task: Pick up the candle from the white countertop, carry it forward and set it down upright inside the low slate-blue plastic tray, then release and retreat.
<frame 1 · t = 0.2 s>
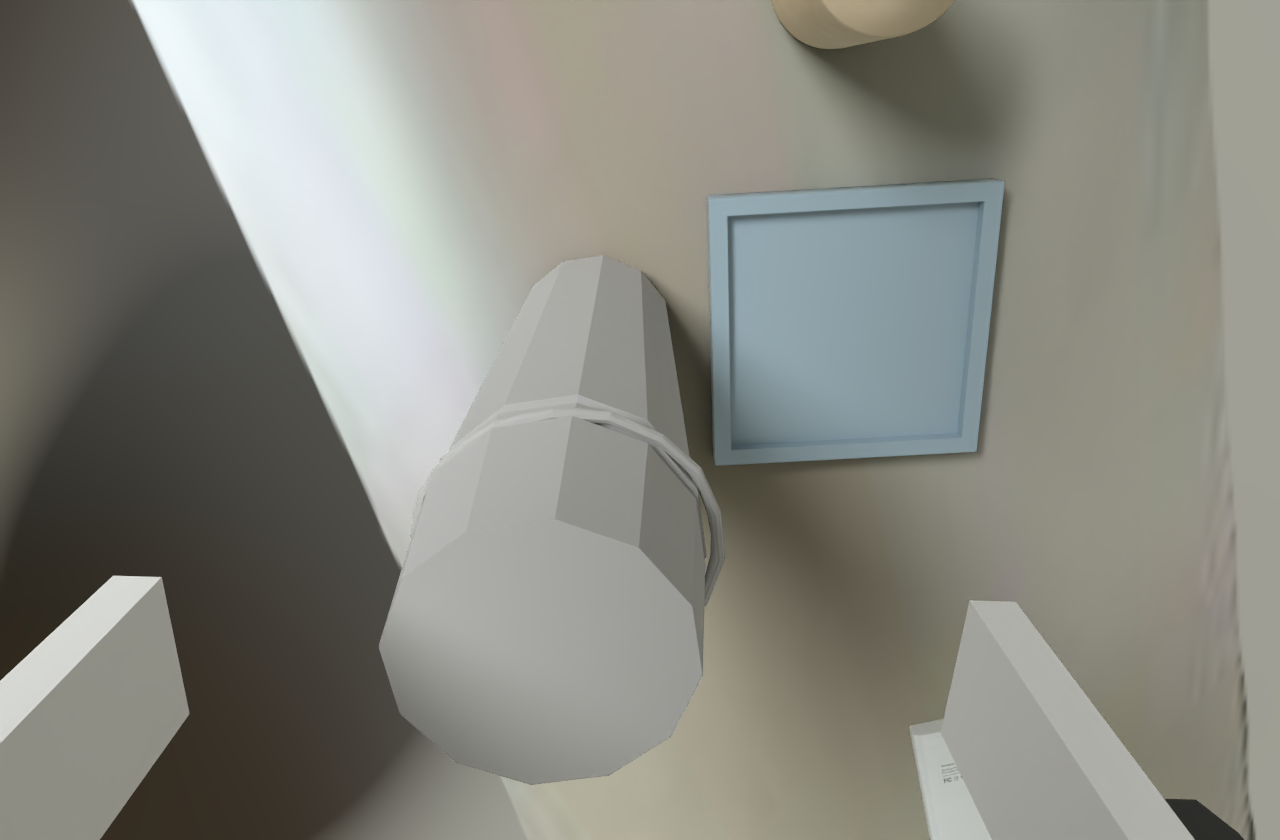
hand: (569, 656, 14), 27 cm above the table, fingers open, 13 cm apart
water bottle: (604, 342, 40), on the table
external hard drive: (984, 779, 52), on the table
tray: (844, 326, 40), on the table
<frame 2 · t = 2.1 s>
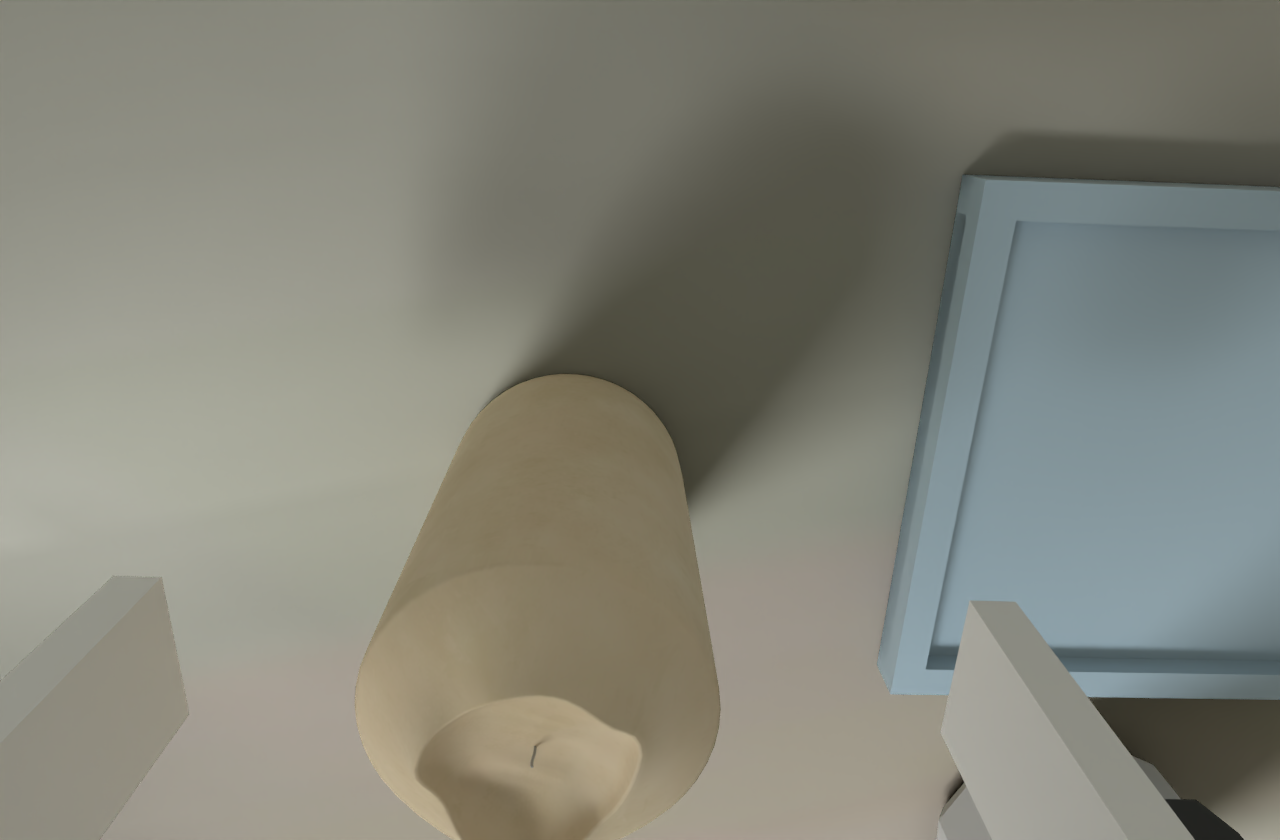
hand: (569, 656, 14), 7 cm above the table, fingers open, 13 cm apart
water bottle: (1068, 803, 25), on the table
tray: (1171, 454, 21), on the table
candle: (569, 472, 21), on the table
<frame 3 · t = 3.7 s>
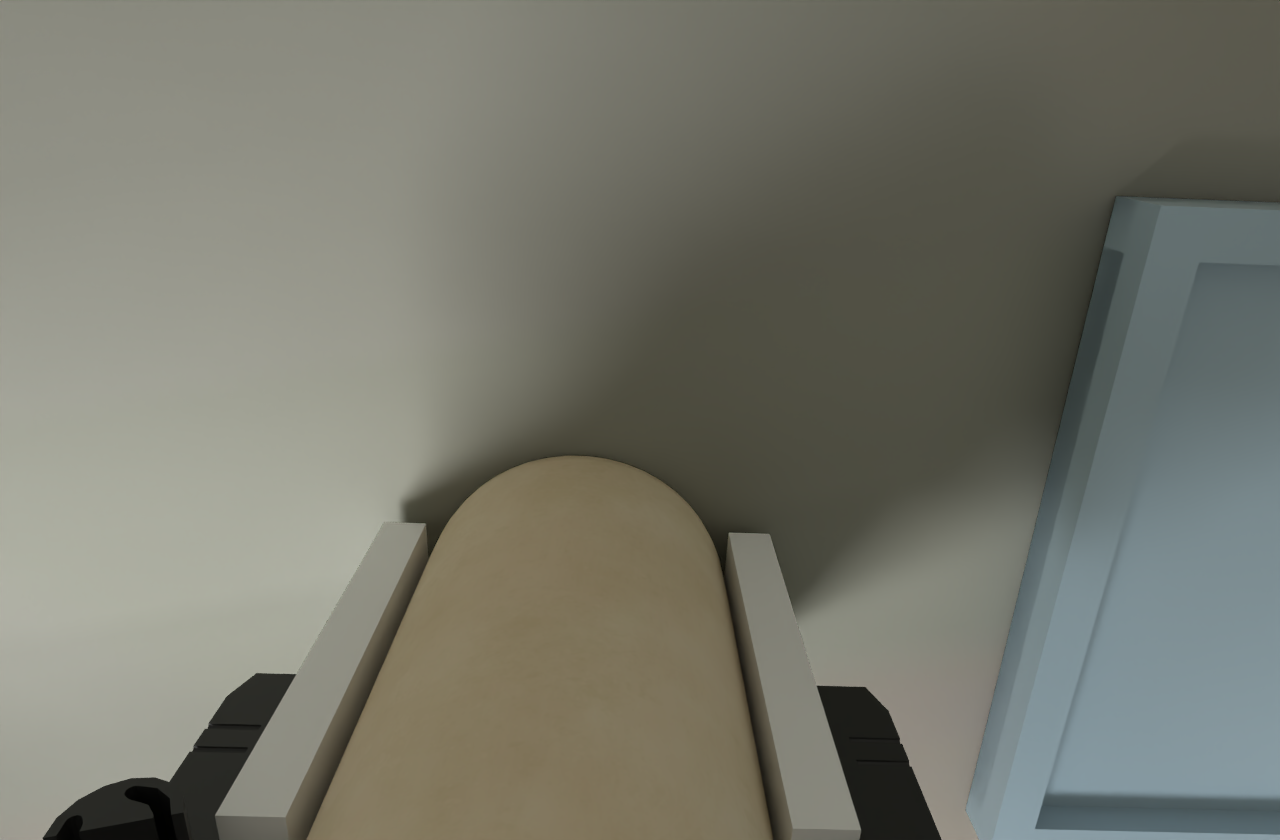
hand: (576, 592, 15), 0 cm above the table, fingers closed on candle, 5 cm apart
candle: (578, 576, 16), on the table, touching gripper
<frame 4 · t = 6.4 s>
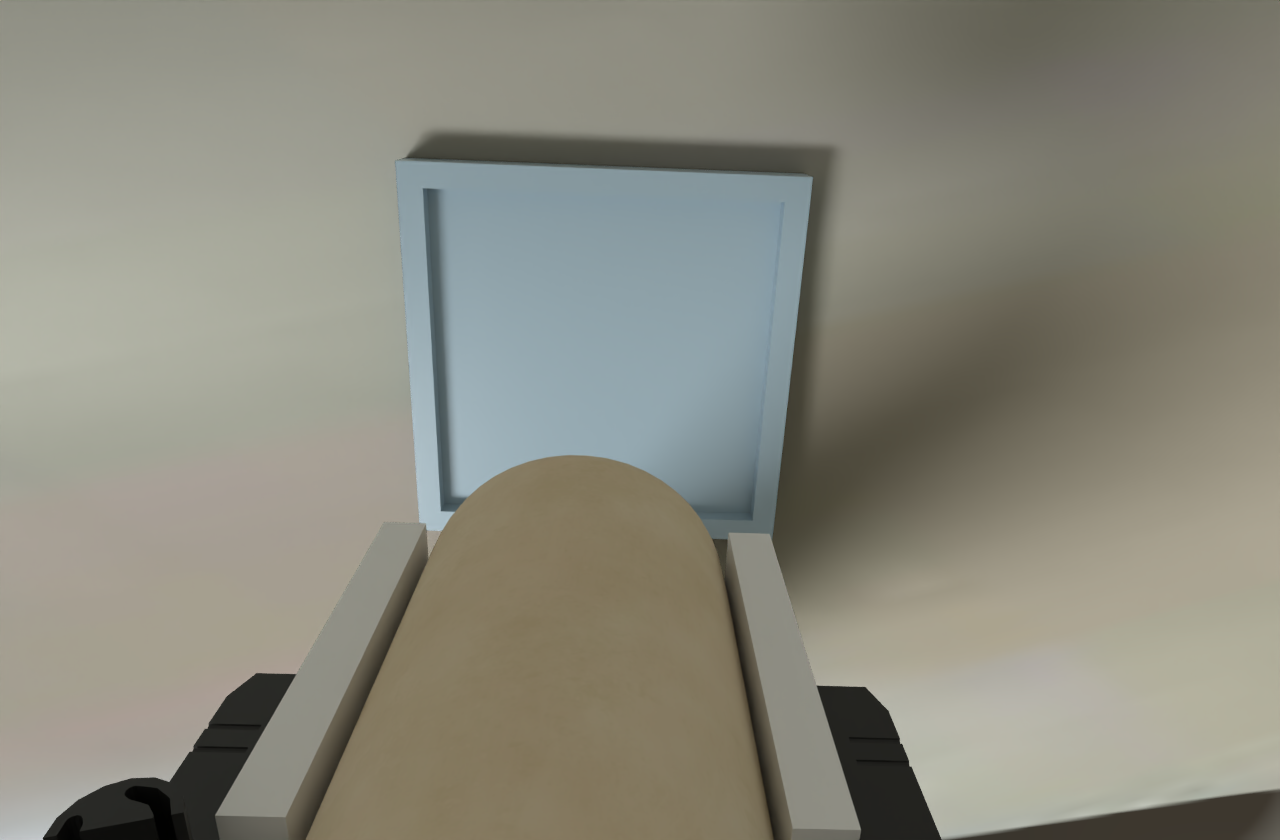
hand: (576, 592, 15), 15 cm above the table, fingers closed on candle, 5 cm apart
tray: (601, 357, 29), on the table
candle: (578, 576, 16), point 14 cm above the table, touching gripper
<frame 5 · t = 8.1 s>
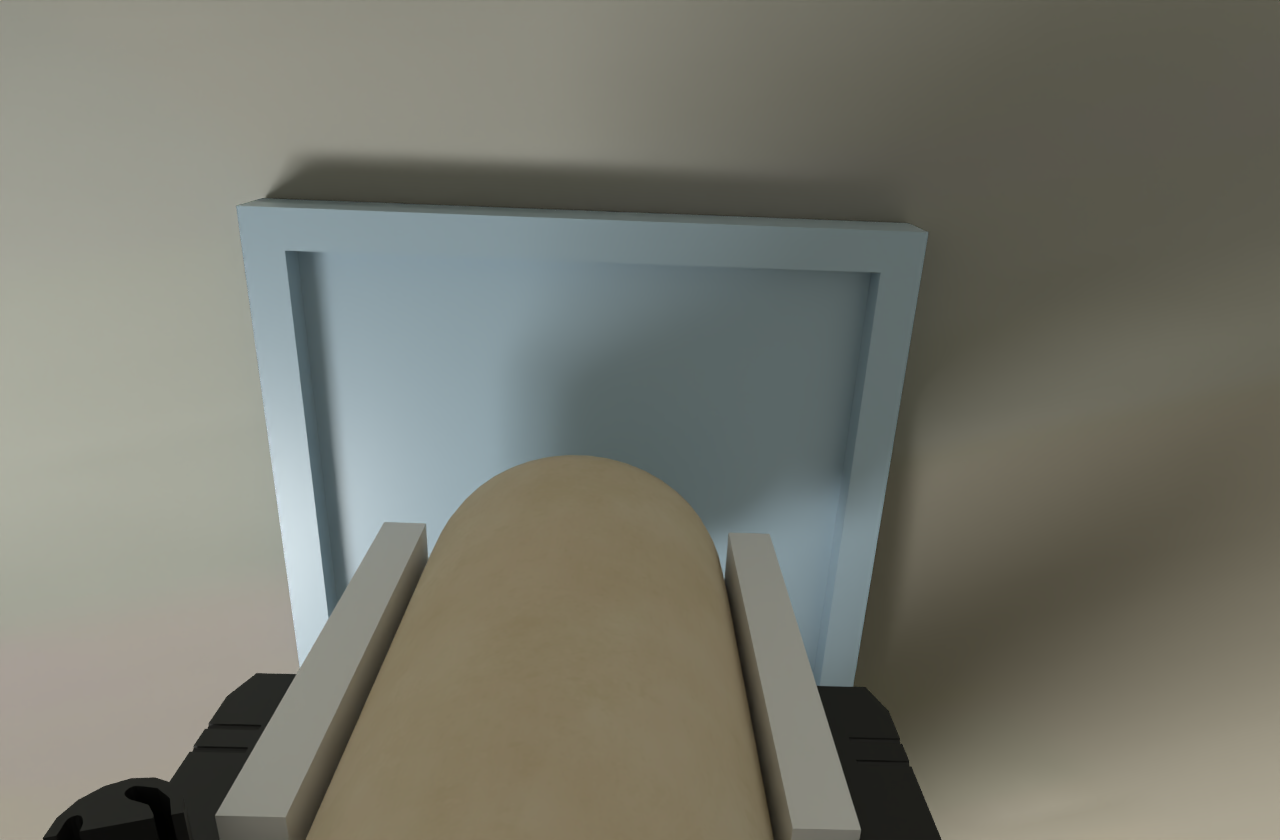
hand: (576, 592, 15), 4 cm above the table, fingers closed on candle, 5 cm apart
tray: (584, 499, 19), on the table
candle: (578, 576, 16), point 3 cm above the table, touching gripper
when the fingers open (2 cm above the table, at t = 9.2 s): candle drops 1 cm, resting on tray.
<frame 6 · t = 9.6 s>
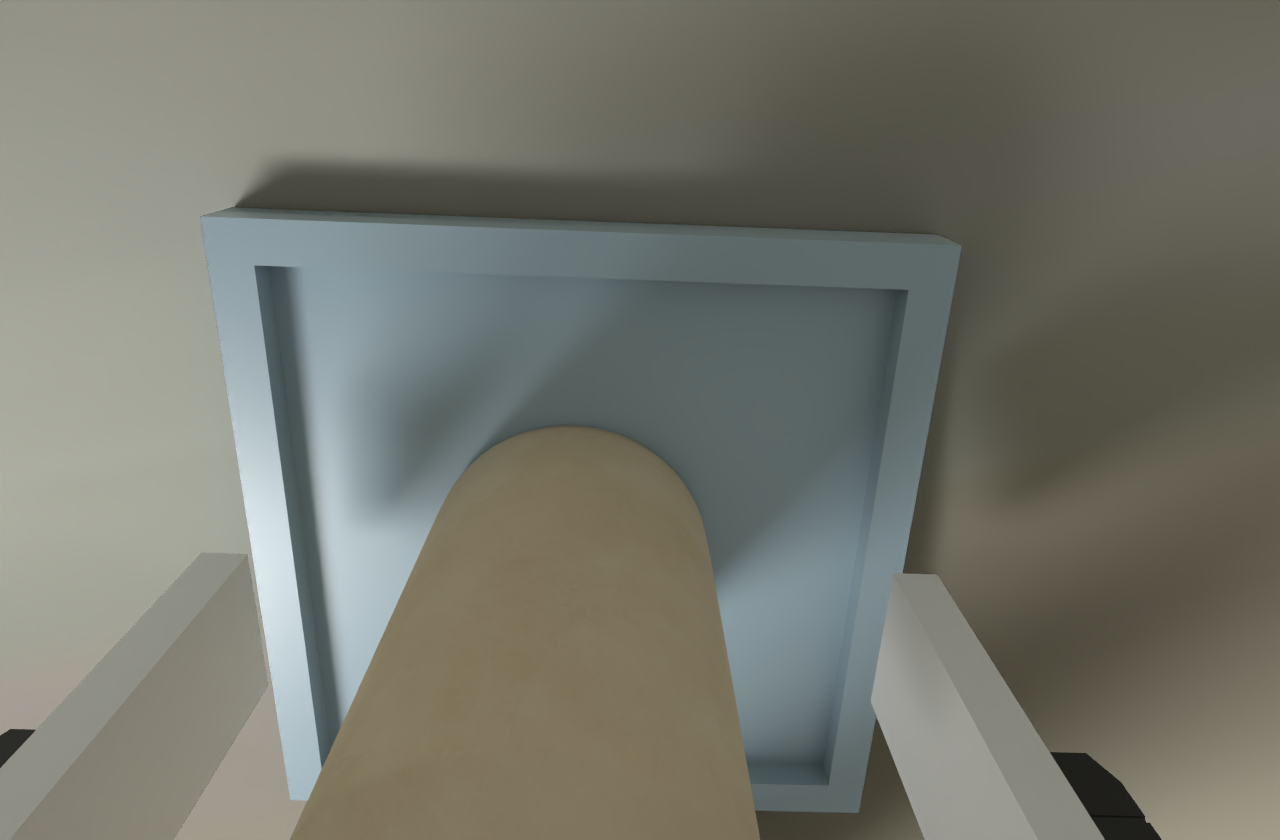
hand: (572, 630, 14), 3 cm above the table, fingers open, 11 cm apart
tray: (583, 531, 18), on the table
candle: (573, 539, 17), resting on tray
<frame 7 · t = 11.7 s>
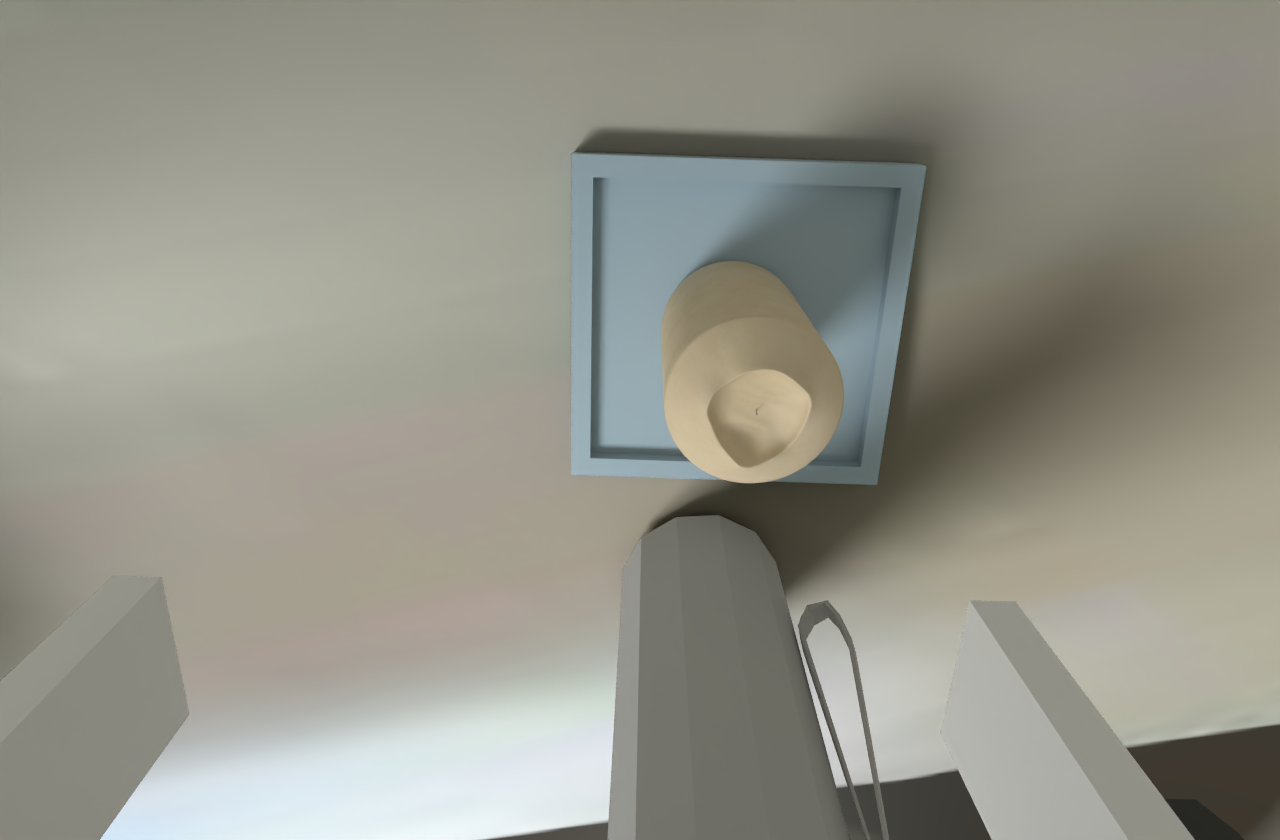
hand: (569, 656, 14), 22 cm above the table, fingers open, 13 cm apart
water bottle: (718, 566, 38), on the table
tray: (732, 323, 34), on the table
candle: (728, 325, 33), resting on tray
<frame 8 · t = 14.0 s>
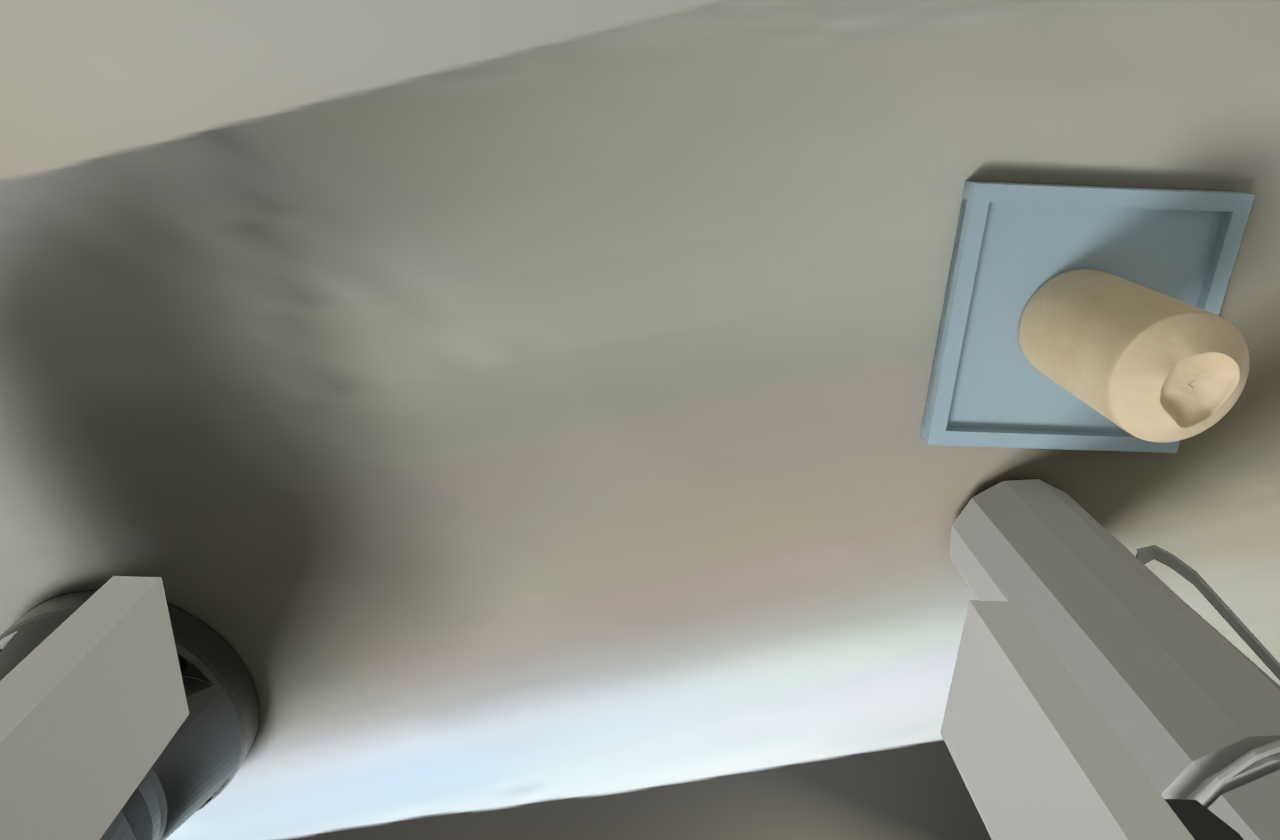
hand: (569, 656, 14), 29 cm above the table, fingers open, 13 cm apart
water bottle: (1023, 523, 46), on the table
tray: (1070, 320, 41), on the table
candle: (1070, 322, 41), resting on tray
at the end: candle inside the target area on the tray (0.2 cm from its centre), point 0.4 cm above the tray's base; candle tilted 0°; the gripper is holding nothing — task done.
